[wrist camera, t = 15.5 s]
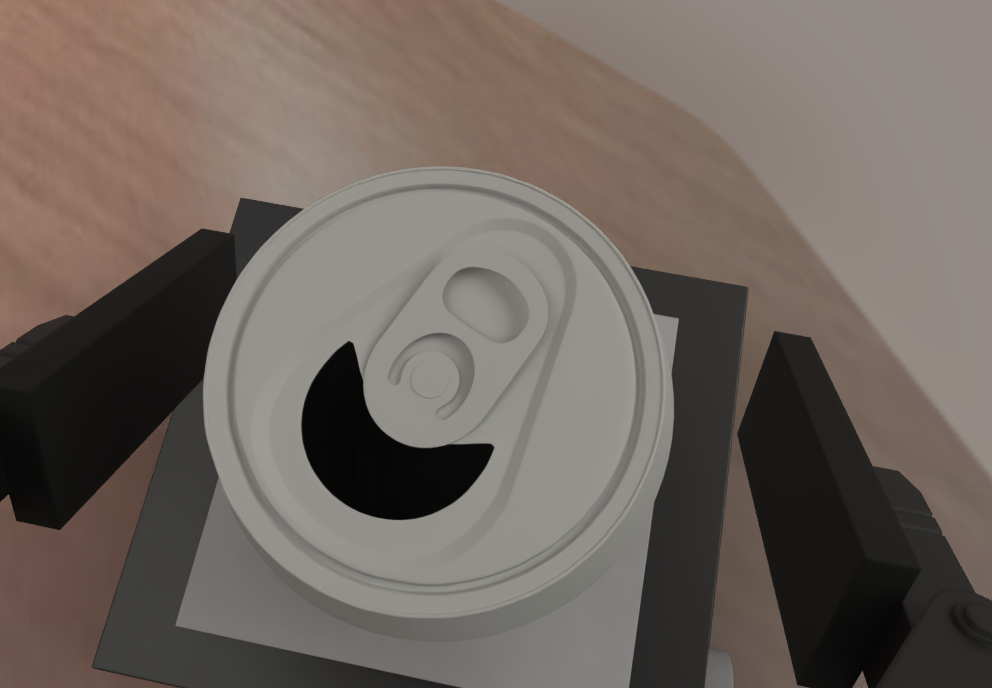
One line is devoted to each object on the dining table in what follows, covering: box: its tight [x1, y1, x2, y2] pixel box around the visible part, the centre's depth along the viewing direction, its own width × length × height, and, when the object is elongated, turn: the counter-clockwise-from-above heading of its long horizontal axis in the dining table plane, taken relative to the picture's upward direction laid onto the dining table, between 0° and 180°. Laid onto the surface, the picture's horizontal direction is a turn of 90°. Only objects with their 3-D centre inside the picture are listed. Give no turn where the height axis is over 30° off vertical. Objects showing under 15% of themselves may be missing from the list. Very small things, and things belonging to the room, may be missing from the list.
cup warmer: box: [92, 198, 748, 688], centre depth 23 cm, size 17×14×5 cm
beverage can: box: [203, 166, 674, 641], centre depth 15 cm, size 6×6×12 cm
